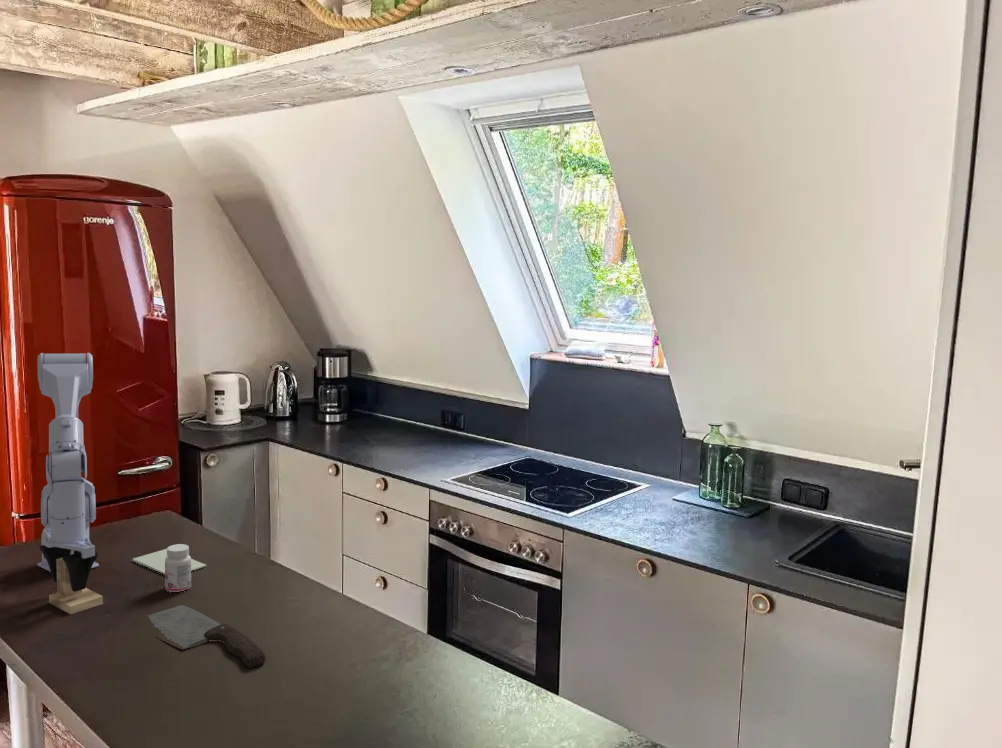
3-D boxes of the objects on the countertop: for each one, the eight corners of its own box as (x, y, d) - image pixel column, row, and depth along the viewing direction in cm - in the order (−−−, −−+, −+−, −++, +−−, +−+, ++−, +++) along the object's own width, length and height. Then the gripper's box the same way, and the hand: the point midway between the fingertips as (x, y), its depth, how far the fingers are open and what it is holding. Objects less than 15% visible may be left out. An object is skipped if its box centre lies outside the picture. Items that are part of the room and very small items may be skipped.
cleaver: (278, 660, 135) (278, 648, 135) (226, 682, 128) (226, 669, 127) (180, 608, 153) (180, 597, 153) (130, 625, 146) (130, 614, 145)
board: (132, 561, 173) (132, 558, 173) (166, 551, 179) (166, 548, 179) (172, 578, 165) (172, 575, 165) (206, 567, 171) (206, 564, 171)
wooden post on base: (49, 602, 151) (48, 561, 150) (81, 592, 156) (80, 552, 155) (70, 614, 147) (69, 572, 146) (102, 603, 152) (102, 562, 151)
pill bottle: (160, 588, 160) (160, 547, 159) (183, 581, 164) (183, 541, 163) (172, 595, 157) (172, 553, 156) (195, 588, 161) (195, 547, 160)
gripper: (25, 511, 151) (27, 581, 153) (66, 528, 143) (68, 602, 145) (63, 502, 157) (65, 570, 159) (105, 519, 149) (106, 590, 151)
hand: (69, 585), depth 152 cm, fingers open, 6 cm apart
